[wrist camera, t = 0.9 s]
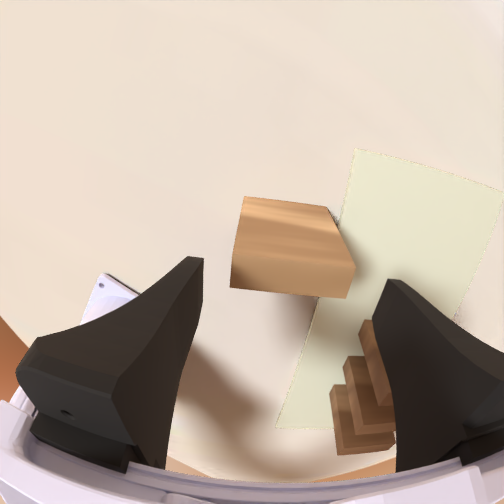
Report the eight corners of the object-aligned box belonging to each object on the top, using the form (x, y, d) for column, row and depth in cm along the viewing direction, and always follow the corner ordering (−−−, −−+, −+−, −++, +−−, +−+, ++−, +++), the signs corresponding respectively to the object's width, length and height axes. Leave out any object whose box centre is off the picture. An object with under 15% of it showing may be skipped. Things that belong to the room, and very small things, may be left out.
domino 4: (374, 392, 26) (387, 450, 20) (328, 393, 26) (337, 455, 20) (380, 383, 26) (395, 442, 20) (333, 384, 26) (343, 448, 19)
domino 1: (321, 230, 19) (345, 299, 12) (241, 220, 19) (229, 287, 12) (326, 206, 18) (356, 267, 12) (244, 196, 18) (232, 253, 12)
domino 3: (390, 367, 24) (410, 428, 18) (342, 367, 24) (355, 434, 18) (397, 355, 24) (419, 418, 18) (348, 355, 24) (363, 425, 17)
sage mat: (376, 423, 31) (377, 425, 30) (275, 425, 30) (275, 428, 30) (502, 191, 16) (505, 193, 16) (354, 148, 16) (356, 149, 16)
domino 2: (409, 335, 22) (436, 399, 16) (357, 334, 22) (378, 406, 16) (416, 321, 22) (447, 386, 15) (364, 319, 22) (388, 392, 15)
